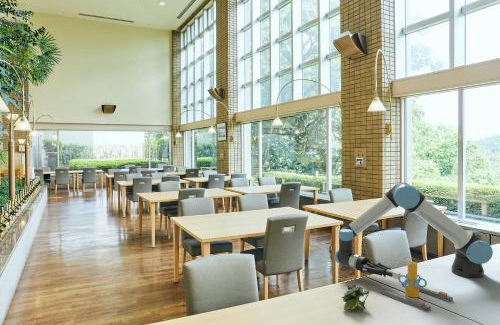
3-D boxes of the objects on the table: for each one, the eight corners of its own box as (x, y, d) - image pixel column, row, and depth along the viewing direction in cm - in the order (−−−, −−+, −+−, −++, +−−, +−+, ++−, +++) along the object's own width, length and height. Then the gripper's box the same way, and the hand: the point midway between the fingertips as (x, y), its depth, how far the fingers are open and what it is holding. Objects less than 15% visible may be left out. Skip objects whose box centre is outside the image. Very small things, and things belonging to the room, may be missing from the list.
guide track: (379, 292, 173) (379, 287, 173) (404, 284, 184) (404, 279, 183) (427, 311, 153) (428, 305, 153) (452, 300, 163) (453, 295, 163)
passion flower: (351, 316, 161) (359, 290, 166) (370, 321, 152) (378, 293, 156) (333, 306, 157) (342, 279, 162) (352, 310, 148) (361, 282, 152)
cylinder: (430, 300, 164) (430, 267, 163) (406, 300, 164) (406, 267, 163) (417, 289, 176) (417, 258, 175) (395, 290, 176) (395, 259, 175)
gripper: (368, 268, 197) (407, 281, 177) (351, 272, 190) (390, 287, 170) (368, 254, 197) (408, 265, 177) (351, 258, 190) (390, 270, 170)
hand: (399, 276), depth 174 cm, fingers closed
